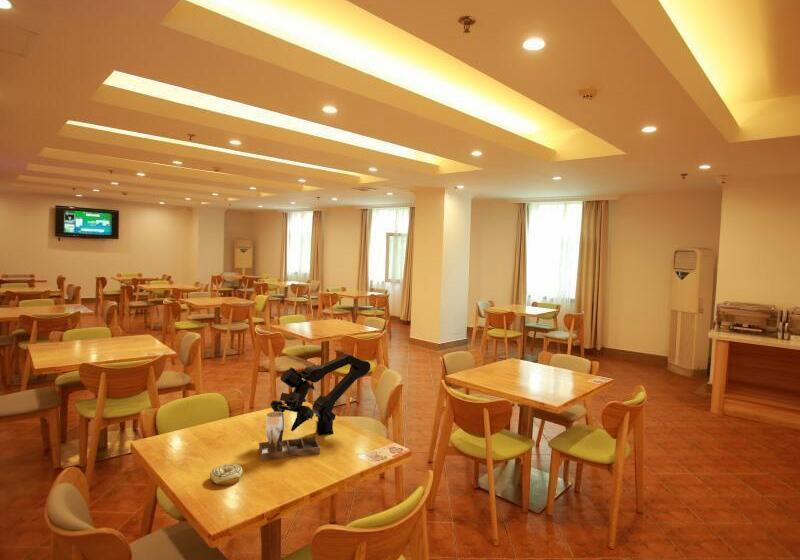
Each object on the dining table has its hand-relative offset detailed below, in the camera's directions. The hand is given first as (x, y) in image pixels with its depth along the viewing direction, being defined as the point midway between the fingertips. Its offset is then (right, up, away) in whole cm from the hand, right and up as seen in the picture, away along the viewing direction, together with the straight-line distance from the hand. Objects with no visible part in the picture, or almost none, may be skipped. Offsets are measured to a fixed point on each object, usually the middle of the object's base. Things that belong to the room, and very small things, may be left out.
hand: (282, 428), depth 184 cm
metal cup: (-2, -8, -3) cm, 9 cm away
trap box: (+3, -9, -1) cm, 9 cm away
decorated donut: (-13, -10, -24) cm, 29 cm away
